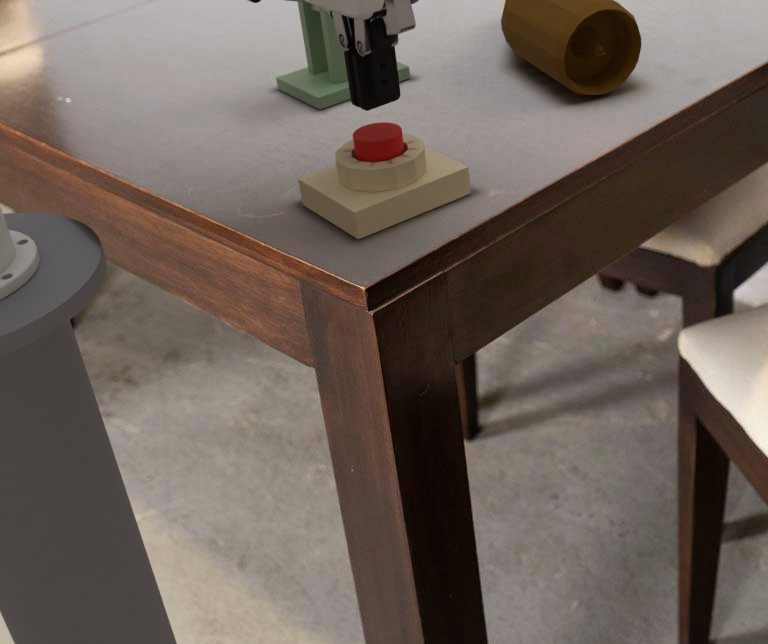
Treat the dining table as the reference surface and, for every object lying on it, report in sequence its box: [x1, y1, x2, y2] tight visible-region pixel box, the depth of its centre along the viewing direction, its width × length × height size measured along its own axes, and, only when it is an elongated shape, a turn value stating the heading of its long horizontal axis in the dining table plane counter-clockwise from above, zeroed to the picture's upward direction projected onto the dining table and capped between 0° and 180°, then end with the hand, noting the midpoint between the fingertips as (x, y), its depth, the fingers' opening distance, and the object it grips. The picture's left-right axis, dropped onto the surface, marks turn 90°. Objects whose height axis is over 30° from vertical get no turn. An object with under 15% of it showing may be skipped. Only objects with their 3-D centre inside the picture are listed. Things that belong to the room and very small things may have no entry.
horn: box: [500, 0, 642, 96], centre depth 102 cm, size 8×10×25 cm
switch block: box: [298, 132, 471, 240], centre depth 82 cm, size 10×8×4 cm
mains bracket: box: [275, 2, 411, 110], centre depth 102 cm, size 10×8×10 cm
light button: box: [352, 121, 404, 163], centre depth 81 cm, size 4×4×2 cm
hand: (376, 102), depth 79 cm, fingers closed
